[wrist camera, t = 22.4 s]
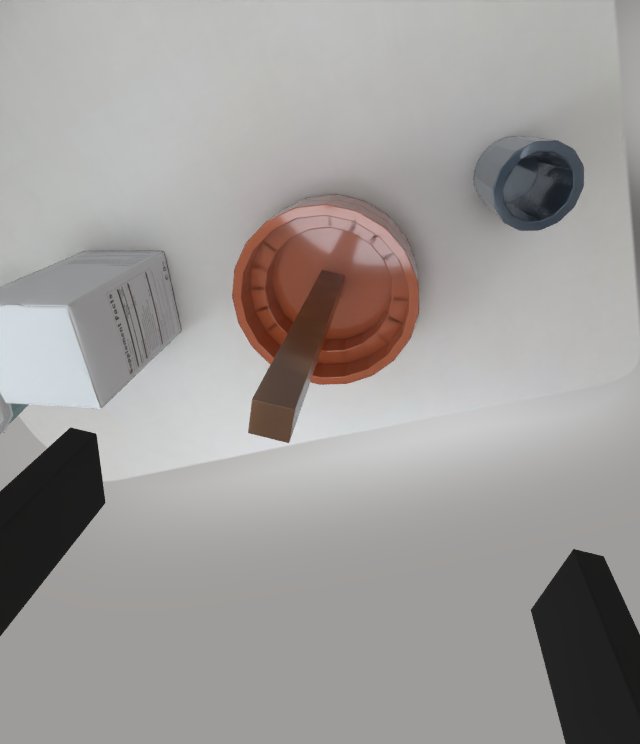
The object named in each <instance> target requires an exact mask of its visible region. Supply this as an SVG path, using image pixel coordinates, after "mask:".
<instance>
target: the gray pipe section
mask: <svg viewBox="0 0 640 744" xmlns="http://www.w3.org/2000/svg"><path fill="white" fill-rule="evenodd" d="M474 186H475V189H476V192H477V194H478V195H479V197H480V198H481V199H482V201H483V202H484V203H485V204H486V205H487V206H488V207H489V208H490V209H491V210H492V211H493V212H494V213H495V214H496V215H497V216H498V217H499V218H500V219H501V220H502V221H503V222H504V223H505V224H507V225H509V226H511V227H513V228H515V229H518V230H521V231H538V230H542V229H544V228H546V227H549V226H551V225H553V224H556V223H558V222H559V221H560V220H561V219H562V218H563V217H564V216H565V215H566V214H567V213H568V212H569V211H570V210H572V209H573V208H574V206H575V204H576V202H577V200H578V198H579V196H580V194H581V191H582V189H583V186H584V167H583V164H582V162H581V160H580V159H579V157H578V155H577V153H576V152H575V150H574V149H573V148H571V147H569V146H567V145H565V144H563V143H561V142H559V141H556V140H549V139H541V138H533V137H525V136H520V137H518V136H512V137H506V138H503V139H500V140H498V141H496V142H495V143H493V144H492V145H490V146H489V147H488V148H487V149H486V150H485V151H484V152H483V154H482V155H481V157H480V158H479V160H478V162H477V165H476V167H475V171H474Z"/></svg>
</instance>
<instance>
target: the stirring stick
mask: <svg viewBox="0 0 640 744" xmlns="http://www.w3.org/2000/svg"><path fill="white" fill-rule="evenodd" d="M344 277H345V275H341V274H337V273H332V272H328V271H324V270H321V272H320V274H319V276H318V278H317V280H316V282H315V283H314V285H313V287H312V289H311V291H310V293H309V295H308V296H307V298H306V300H305V302H304V304H303V306H302V308H301V310H300V311H299V313H298V315H297V317H296V319H295V321H294V323H293V324H292V326H291V328H290V330H289V332H288V334H287V336H286V337H285V339H284V341H283V343H282V345H281V347H280V349H279V350H278V352H277V354H276V356H275V358H274V360H273V362H272V363H271V365H270V367H269V369H268V371H267V373H266V375H265V376H264V378H263V380H262V382H261V384H260V386H259V388H258V389H257V391H256V393H255V395H254V397H253V399H252V405H251V413H250V422H249V430H248V433H251V434H255V435H259V436H263V437H267V438H271V439H275V440H279V441H283V442H287V443H289V441H290V438H291V435H292V433H293V430H294V427H295V424H296V421H297V418H298V416H299V413H300V410H301V407H302V404H303V401H304V398H305V396H306V393H307V390H308V387H309V384H310V381H311V378H312V376H313V373H314V370H315V367H316V364H317V361H318V359H319V356H320V353H321V350H322V347H323V344H324V341H325V339H326V336H327V333H328V330H329V327H330V324H331V321H332V319H333V316H334V313H335V310H336V307H337V304H338V302H339V299H340V295H341V290H342V286H343V281H344Z"/></svg>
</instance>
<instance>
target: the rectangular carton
mask: <svg viewBox="0 0 640 744" xmlns="http://www.w3.org/2000/svg"><path fill="white" fill-rule="evenodd" d="M180 332H181V328H180V323H179V318H178V314H177V309H176V305H175V300H174V295H173V291H172V286H171V282H170V277H169V273H168V268H167V264H166V259H165V255H164V252H162V251H84V252H81V253H79V254H77V255H74V256H72V257H70V258H67V259H65V260H62V261H60V262H58V263H55V264H53V265H51V266H48V267H46V268H44V269H41V270H39V271H37V272H34V273H32V274H30V275H27V276H25V277H23V278H20V279H18V280H16V281H13V282H11V283H9V284H6V285H4V286H2V287H0V393H1V395H2V397H3V399H4V400H5V402H6V403H15V404H32V405H49V406H66V407H83V408H99V409H102V408H103V407H104V406H105V405H106V404H107V403H108V402H109V401H110V400H111V399H112V398H113V397H114V396H115V395H116V394H117V393H118V392H119V391H120V390H121V389H122V388H123V387H124V386H125V385H126V384H127V383H128V382H129V381H130V380H132V379H133V378H134V377H135V376H136V375H137V374H138V373H139V372H140V371H141V370H142V369H143V368H144V367H145V366H146V365H147V364H148V363H149V362H150V361H151V360H152V359H153V358H154V357H155V356H156V355H157V354H158V353H159V352H161V351H162V350H163V349H164V348H165V347H166V346H167V345H168V344H169V343H170V342H171V341H172V340H173V339H174V338H175V337H176V336H177V335H178V334H179V333H180Z"/></svg>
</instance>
